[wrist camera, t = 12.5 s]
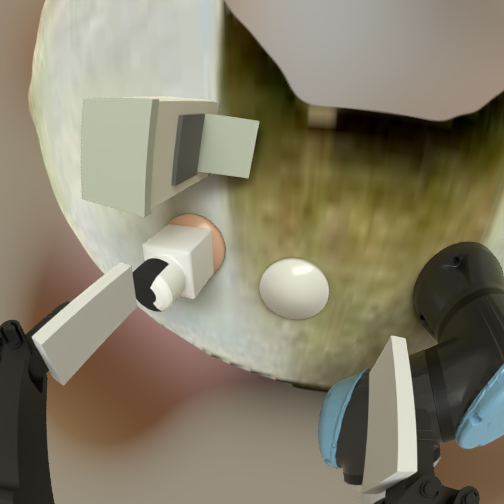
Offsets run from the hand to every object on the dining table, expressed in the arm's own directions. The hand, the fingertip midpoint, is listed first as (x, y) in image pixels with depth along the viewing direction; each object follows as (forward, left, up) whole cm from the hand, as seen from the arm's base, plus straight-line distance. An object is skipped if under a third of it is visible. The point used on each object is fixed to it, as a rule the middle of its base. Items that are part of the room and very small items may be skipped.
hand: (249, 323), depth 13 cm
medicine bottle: (+14, +13, -24) cm, 30 cm away
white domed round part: (-2, +15, -25) cm, 29 cm away
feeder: (+14, -3, -25) cm, 29 cm away
